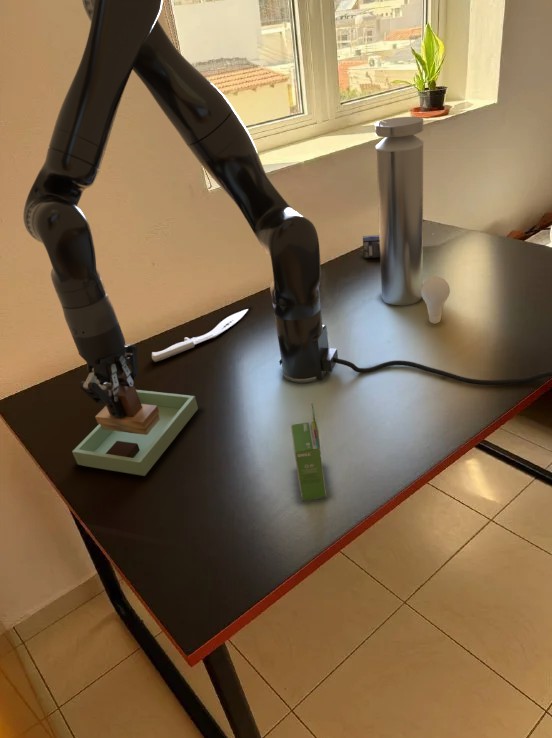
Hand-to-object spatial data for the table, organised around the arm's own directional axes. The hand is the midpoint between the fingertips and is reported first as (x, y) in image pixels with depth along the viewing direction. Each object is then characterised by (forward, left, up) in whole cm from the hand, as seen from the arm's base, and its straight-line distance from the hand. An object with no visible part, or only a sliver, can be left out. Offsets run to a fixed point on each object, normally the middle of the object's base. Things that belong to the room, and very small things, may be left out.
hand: (126, 410), depth 101 cm
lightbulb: (-46, -52, -8) cm, 70 cm away
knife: (+7, -40, -8) cm, 42 cm away
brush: (0, 0, -3) cm, 3 cm away
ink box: (-35, +4, -8) cm, 36 cm away
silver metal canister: (-36, -65, -8) cm, 75 cm away
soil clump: (0, +5, -7) cm, 8 cm away
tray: (0, -2, -8) cm, 8 cm away
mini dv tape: (-24, -91, -8) cm, 95 cm away
